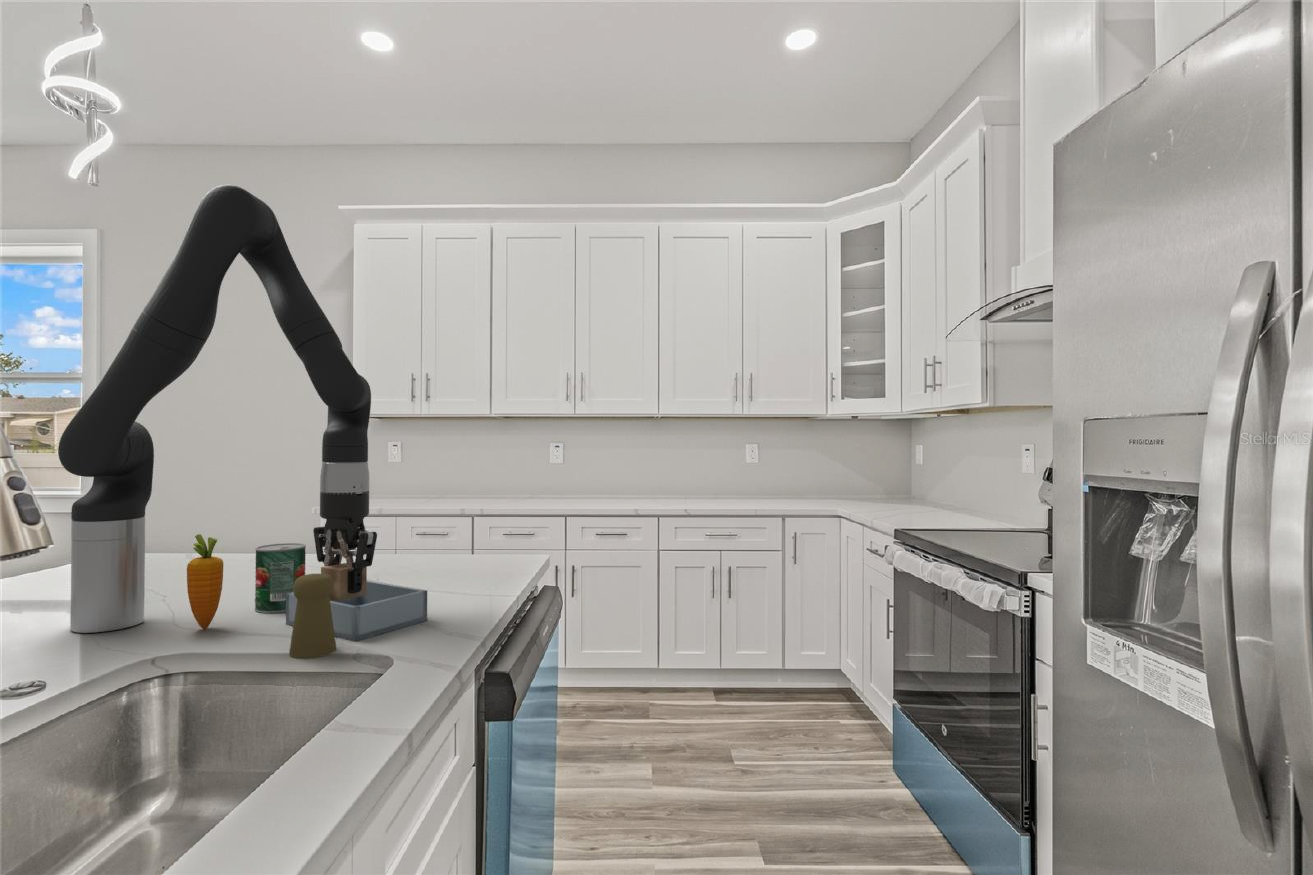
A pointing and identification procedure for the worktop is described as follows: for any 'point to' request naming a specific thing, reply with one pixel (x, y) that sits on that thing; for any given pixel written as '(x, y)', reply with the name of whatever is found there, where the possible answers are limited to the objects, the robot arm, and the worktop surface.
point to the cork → (313, 617)
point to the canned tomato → (277, 574)
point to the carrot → (204, 582)
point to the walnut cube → (343, 581)
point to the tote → (372, 610)
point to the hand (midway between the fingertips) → (344, 590)
